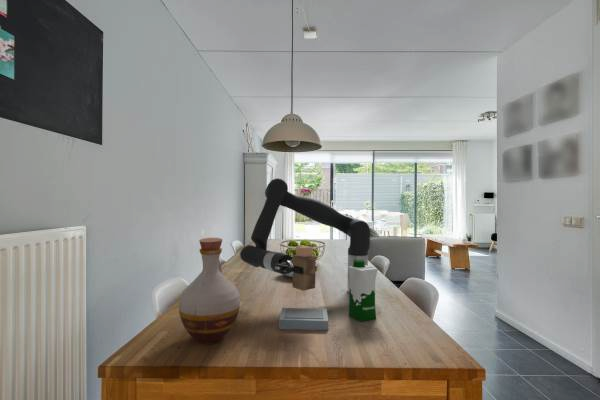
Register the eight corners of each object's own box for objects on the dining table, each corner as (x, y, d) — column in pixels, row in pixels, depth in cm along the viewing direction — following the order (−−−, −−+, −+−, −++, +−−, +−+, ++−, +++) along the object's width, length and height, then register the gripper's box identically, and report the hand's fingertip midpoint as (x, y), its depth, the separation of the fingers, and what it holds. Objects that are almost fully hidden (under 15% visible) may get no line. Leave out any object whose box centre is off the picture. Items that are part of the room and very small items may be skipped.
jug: (193, 324, 109) (194, 234, 110) (246, 325, 109) (247, 235, 109) (167, 351, 90) (168, 242, 90) (232, 353, 89) (233, 243, 89)
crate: (304, 284, 116) (304, 253, 116) (315, 287, 112) (315, 255, 112) (292, 287, 113) (293, 255, 113) (303, 290, 109) (304, 257, 109)
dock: (326, 317, 118) (326, 308, 118) (328, 330, 106) (328, 320, 106) (282, 316, 119) (282, 307, 119) (278, 328, 107) (279, 319, 107)
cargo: (304, 254, 115) (304, 245, 115) (312, 255, 112) (312, 247, 112) (296, 255, 113) (296, 246, 113) (304, 257, 110) (304, 248, 110)
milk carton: (364, 311, 125) (364, 258, 125) (380, 319, 117) (380, 262, 117) (345, 314, 121) (345, 260, 121) (360, 323, 113) (361, 264, 113)
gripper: (262, 254, 118) (293, 261, 106) (292, 250, 128) (324, 256, 116) (262, 275, 118) (293, 284, 106) (292, 269, 128) (323, 277, 116)
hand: (309, 269), depth 111 cm, fingers closed on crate, 5 cm apart
